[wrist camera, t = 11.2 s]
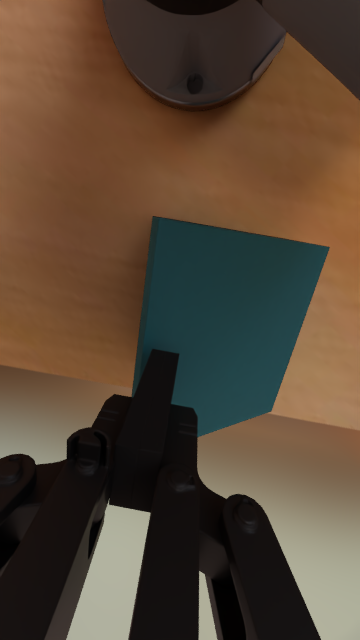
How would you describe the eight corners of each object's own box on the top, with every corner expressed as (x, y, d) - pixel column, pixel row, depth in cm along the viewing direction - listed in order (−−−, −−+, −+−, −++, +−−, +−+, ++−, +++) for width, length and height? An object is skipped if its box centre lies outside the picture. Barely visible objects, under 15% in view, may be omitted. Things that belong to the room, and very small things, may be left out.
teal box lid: (124, 452, 18) (128, 461, 18) (152, 216, 13) (159, 217, 12) (265, 406, 26) (271, 411, 25) (320, 245, 20) (330, 247, 20)
